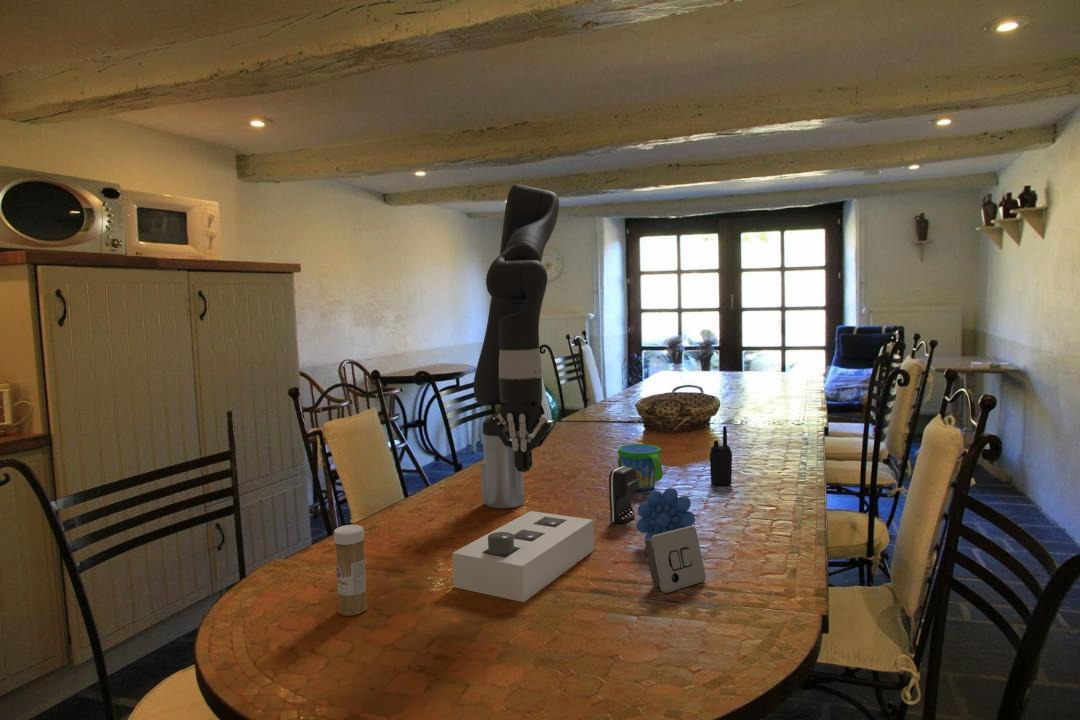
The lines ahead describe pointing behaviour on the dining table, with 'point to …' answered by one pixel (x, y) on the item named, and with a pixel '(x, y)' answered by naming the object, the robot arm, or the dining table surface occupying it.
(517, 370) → the robot arm
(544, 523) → the knob
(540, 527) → the knob panel
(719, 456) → the two-way radio
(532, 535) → the knob
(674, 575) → the electrical switch
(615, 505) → the battery charger
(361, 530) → the sprinkles bottle
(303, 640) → the dining table surface
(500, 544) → the knob
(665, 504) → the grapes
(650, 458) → the snack cup
